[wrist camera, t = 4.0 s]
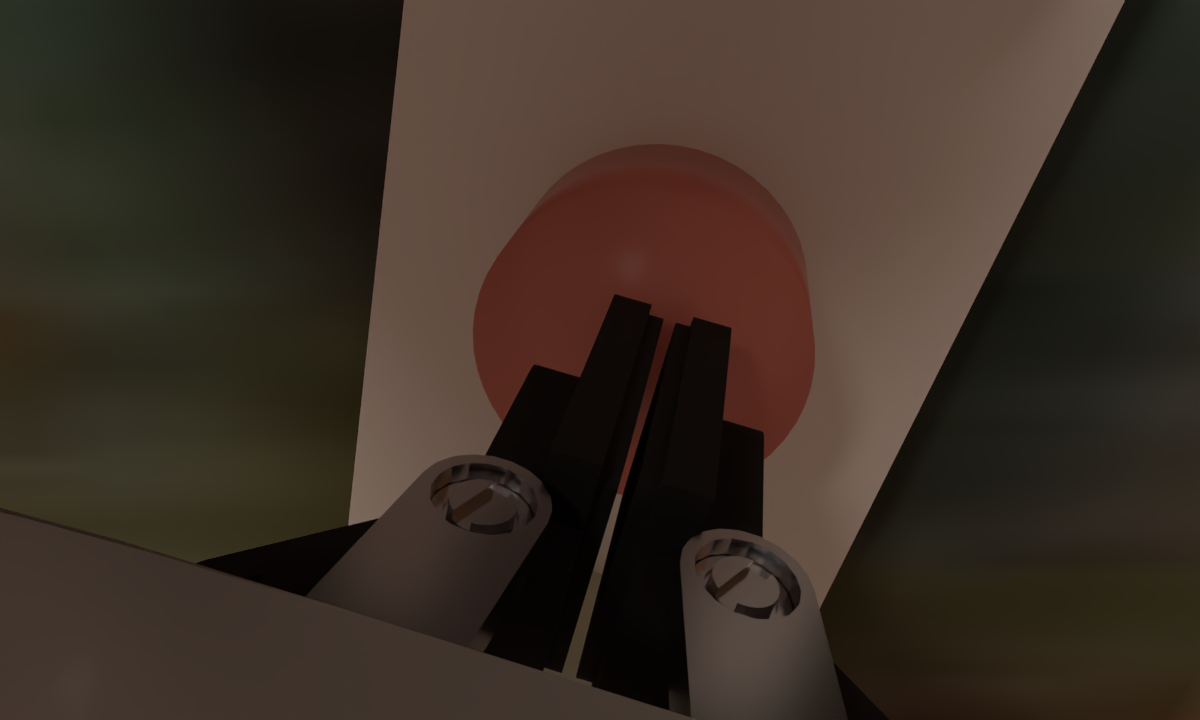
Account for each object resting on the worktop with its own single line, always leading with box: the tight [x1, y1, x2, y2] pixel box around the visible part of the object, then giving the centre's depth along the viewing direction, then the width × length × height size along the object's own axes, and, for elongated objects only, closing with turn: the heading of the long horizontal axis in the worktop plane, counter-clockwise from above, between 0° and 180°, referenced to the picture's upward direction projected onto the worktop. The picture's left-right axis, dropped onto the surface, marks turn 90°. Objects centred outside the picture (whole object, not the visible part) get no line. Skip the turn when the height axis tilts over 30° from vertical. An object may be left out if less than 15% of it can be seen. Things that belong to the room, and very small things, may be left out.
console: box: [348, 0, 1125, 609], centre depth 17 cm, size 26×11×3 cm, turn 167°
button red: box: [473, 144, 815, 495], centre depth 14 cm, size 5×5×2 cm
